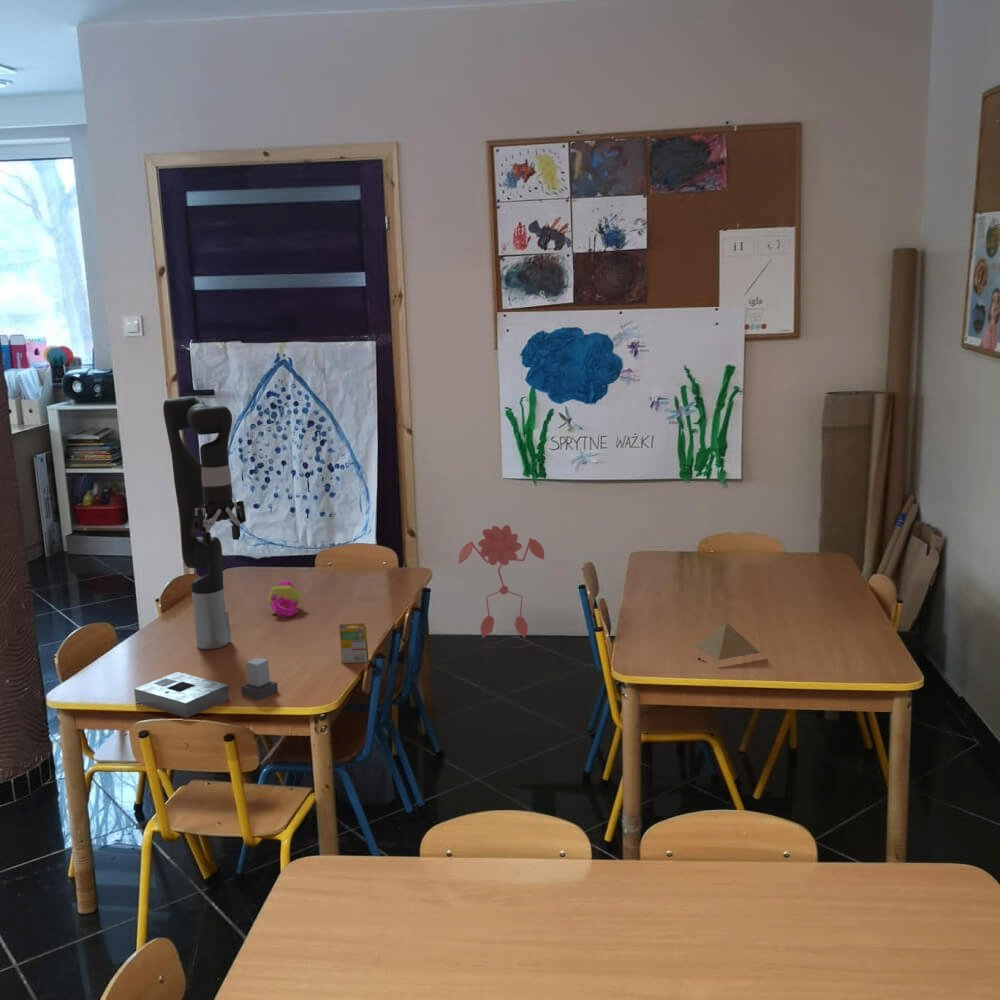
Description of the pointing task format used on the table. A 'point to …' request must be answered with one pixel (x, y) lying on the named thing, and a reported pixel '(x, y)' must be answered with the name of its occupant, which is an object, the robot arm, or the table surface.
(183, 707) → the port panel
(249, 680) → the plug
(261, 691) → the dark grey square frame
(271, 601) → the toy
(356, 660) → the crayon box
